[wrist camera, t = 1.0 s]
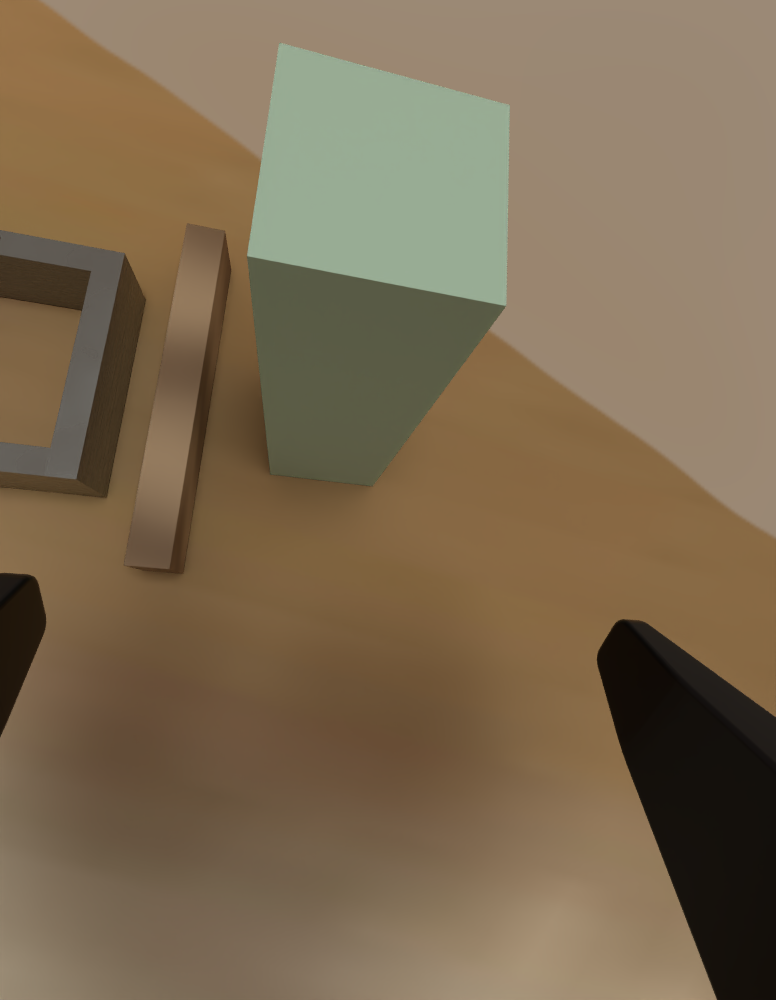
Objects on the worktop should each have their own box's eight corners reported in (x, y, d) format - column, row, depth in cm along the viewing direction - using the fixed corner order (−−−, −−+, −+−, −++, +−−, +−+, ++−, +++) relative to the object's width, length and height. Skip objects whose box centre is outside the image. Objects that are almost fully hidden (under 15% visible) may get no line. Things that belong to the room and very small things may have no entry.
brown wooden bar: (182, 573, 20) (169, 569, 18) (143, 570, 20) (123, 565, 17) (231, 269, 23) (225, 230, 21) (197, 263, 23) (187, 223, 20)
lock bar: (372, 486, 22) (506, 306, 9) (270, 474, 21) (246, 255, 8) (379, 393, 23) (509, 104, 10) (282, 378, 22) (279, 42, 9)
